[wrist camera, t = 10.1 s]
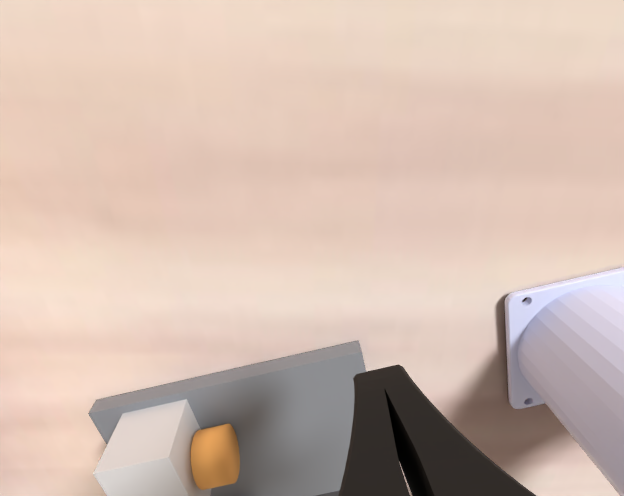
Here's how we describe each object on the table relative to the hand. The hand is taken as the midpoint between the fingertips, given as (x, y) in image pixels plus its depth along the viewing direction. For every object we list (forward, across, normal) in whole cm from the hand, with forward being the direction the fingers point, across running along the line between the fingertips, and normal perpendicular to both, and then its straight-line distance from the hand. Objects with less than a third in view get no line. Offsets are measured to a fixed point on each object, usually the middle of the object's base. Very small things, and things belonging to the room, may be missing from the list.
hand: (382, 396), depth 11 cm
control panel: (+9, +8, +16) cm, 20 cm away
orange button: (+8, +8, +8) cm, 14 cm away
